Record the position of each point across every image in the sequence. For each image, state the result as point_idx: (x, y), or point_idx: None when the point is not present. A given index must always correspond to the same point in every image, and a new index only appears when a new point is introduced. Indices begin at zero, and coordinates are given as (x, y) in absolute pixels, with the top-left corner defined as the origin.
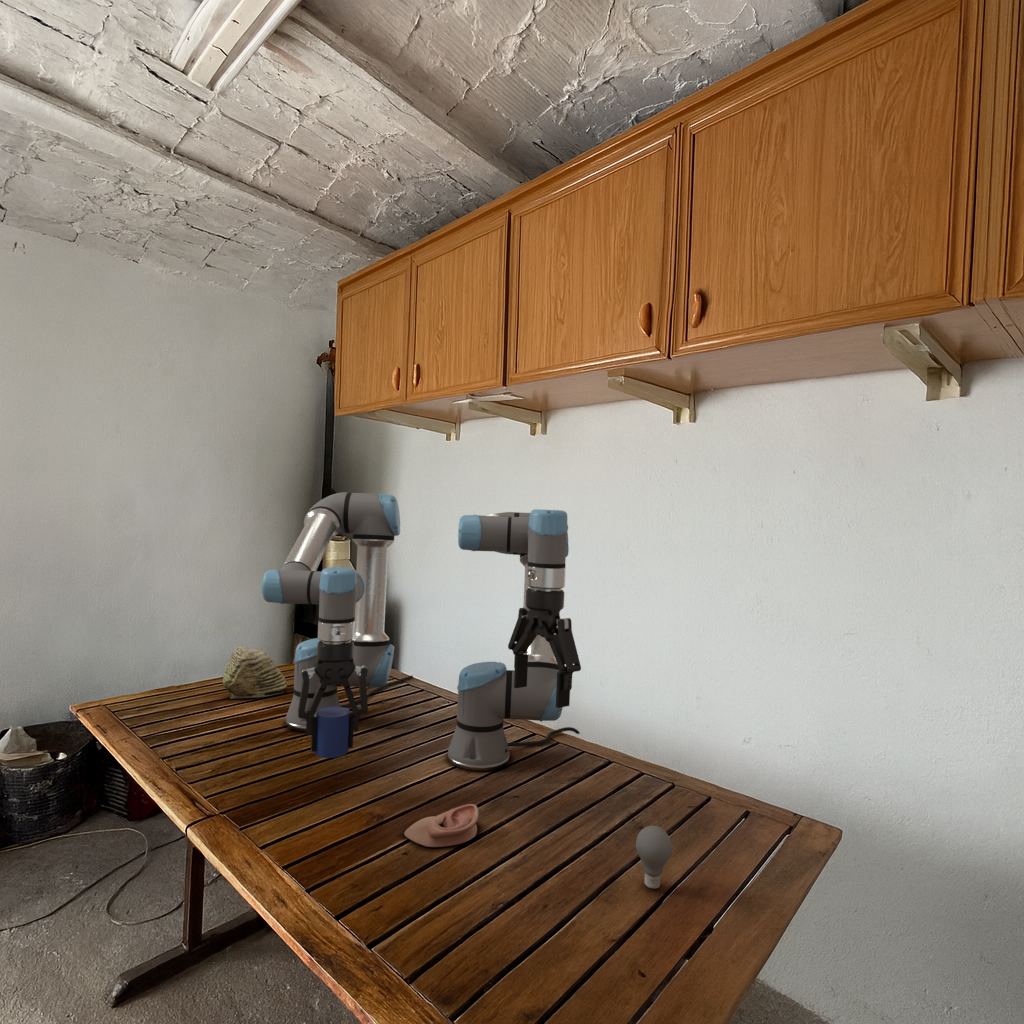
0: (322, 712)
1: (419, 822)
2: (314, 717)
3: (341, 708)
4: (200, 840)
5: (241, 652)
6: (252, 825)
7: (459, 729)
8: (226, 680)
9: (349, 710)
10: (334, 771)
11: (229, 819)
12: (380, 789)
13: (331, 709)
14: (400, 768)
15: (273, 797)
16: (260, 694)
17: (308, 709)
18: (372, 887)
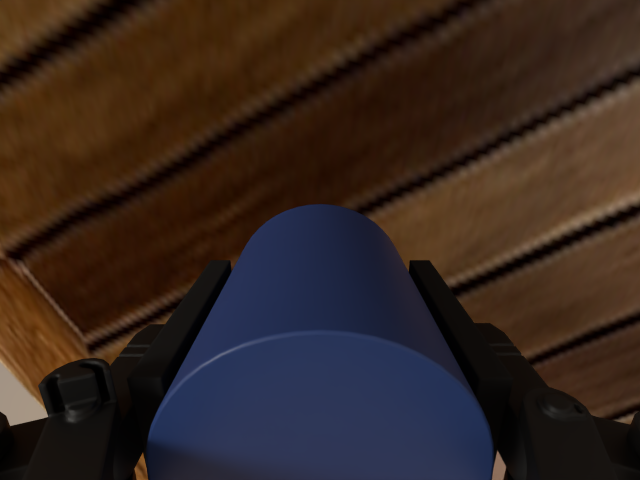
0: (208, 475)
1: (502, 466)
2: (152, 398)
3: (423, 413)
4: (9, 371)
5: None
6: (115, 339)
7: None
8: None
9: (489, 477)
10: (356, 33)
11: (46, 296)
12: (478, 236)
13: (308, 418)
14: (613, 81)
15: (143, 199)
16: None
17: (34, 463)
18: None
